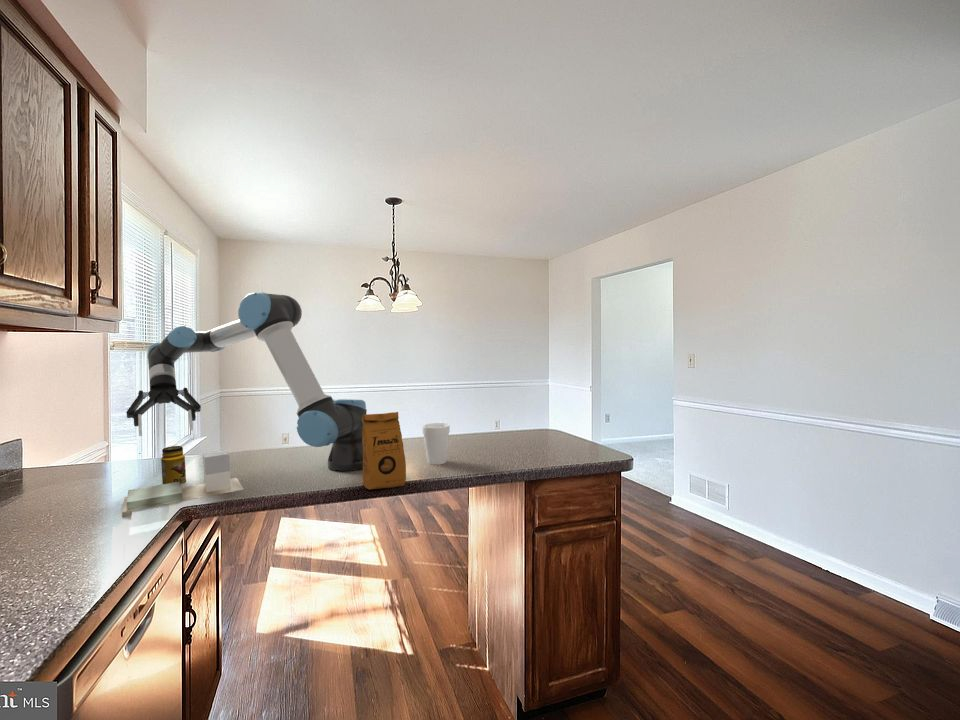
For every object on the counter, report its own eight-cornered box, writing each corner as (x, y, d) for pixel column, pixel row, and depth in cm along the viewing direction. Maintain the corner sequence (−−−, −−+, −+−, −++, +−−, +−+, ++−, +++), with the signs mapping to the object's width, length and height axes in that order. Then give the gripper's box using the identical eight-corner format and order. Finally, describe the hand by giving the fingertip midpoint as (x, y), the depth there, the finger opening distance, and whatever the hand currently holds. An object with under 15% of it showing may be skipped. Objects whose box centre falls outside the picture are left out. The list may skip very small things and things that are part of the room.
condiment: (188, 487, 142) (185, 448, 141) (153, 493, 137) (151, 452, 136) (187, 481, 148) (185, 443, 147) (154, 486, 143) (152, 447, 142)
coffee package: (408, 488, 137) (406, 413, 136) (364, 493, 133) (362, 417, 132) (402, 478, 146) (400, 408, 145) (361, 483, 142) (359, 411, 141)
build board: (236, 481, 146) (236, 471, 146) (244, 493, 135) (244, 482, 135) (124, 501, 130) (123, 490, 130) (122, 516, 119) (121, 504, 119)
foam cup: (419, 465, 161) (418, 427, 161) (428, 457, 170) (427, 422, 170) (445, 466, 159) (444, 428, 158) (453, 459, 168) (452, 423, 167)
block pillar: (227, 482, 141) (226, 450, 141) (230, 487, 136) (228, 454, 136) (204, 486, 138) (202, 453, 137) (206, 492, 133) (205, 457, 132)
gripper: (204, 384, 171) (210, 432, 160) (117, 390, 157) (118, 442, 145) (204, 371, 167) (211, 419, 155) (116, 375, 152) (116, 428, 141)
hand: (166, 430), depth 150 cm, fingers open, 13 cm apart
